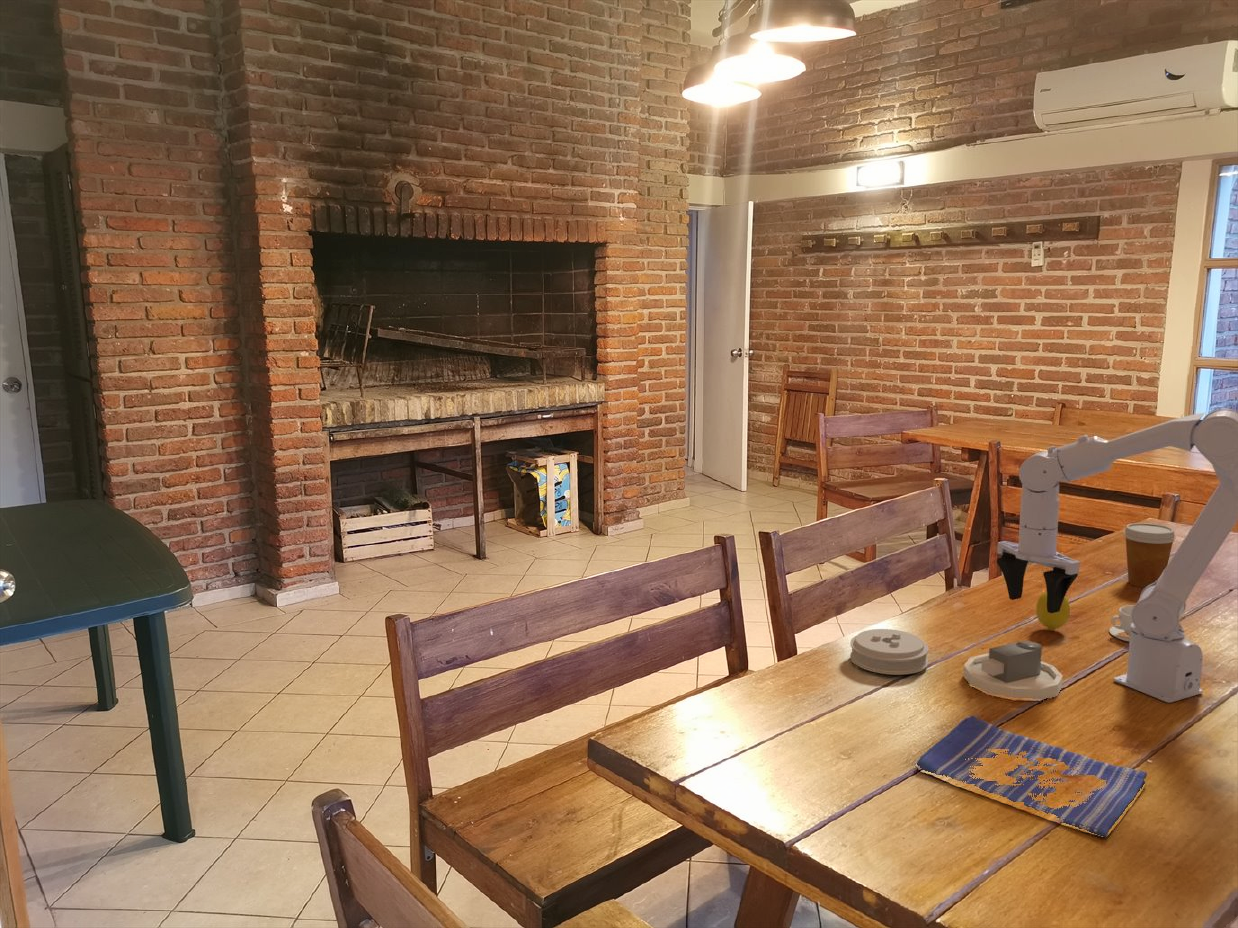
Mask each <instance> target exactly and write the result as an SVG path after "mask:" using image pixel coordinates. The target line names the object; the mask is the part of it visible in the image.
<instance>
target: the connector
mask: <svg viewBox="0 0 1238 928" xmlns="http://www.w3.org/2000/svg"><path fill="white" fill-rule="evenodd" d="M1042 650H1043V646H1042V645H1041V644H1040V643H1037V642H1034V641H1028V640H1022V641H1021V640H1020V641H1016V642H1012V643H1007V644H1003V645H998V646H993V647H990V648H989V650H988V651H989V652H988V653H989V659H987V660H983V661H982V668H981V670H982V671H984V672H986V673H988V675H990V676H992V677H995V678H997V679H999V680H1001V681H1003V682H1005V683H1010V682H1014V681H1018V680H1022V679H1026V678H1030V677H1034V676H1038V675H1040V671H1041V661H1042V652H1043V651H1042Z"/></svg>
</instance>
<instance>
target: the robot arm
mask: <svg viewBox="0 0 1238 928" xmlns="http://www.w3.org/2000/svg"><path fill="white" fill-rule="evenodd" d="M1204 415H1205V412H1203V413H1195V414H1190V415H1185V416H1181V417H1177V418H1173V419H1170V420H1166V421H1164V422H1160V423H1158V424H1155V425H1152V426H1150V427H1149V426H1148V427H1146V428H1143V429H1140V430H1136V431H1135V432H1132V433H1131V432H1130V433H1129V434H1128V433H1127V434H1126V435H1122V436H1119V437H1116V438H1113V439H1111V440H1109V439H1108V440H1107V439H1104V438H1102V437H1099V436H1097V435H1094V436H1091V437H1089V435H1088V434H1084V435H1081V436H1079V437H1077V441H1075V442H1071V443H1068V444H1065V445H1062V446H1058V447H1056V446H1055V445H1052V446H1049V447H1048V448H1046V450H1047V451H1038V452H1036V453H1034V454H1033V455H1031V456H1029V457H1028V458H1026V459H1025V460H1024V461H1023V462H1022V464H1021V465H1020V467H1019V470H1018V478H1019V481H1020V482H1021V485H1022V487H1021V497H1020V509H1019V525H1018V526H1019V528H1018V529H1019V530H1018V531H1019V532H1018V543H1017V542H1011V541H1007V540H1003V541H997V551H996V553H997V554H999V555H1001V557H997V558H996V564H997V565H998V567H999V569H1000V571H1001V573H1002V576H1003V578H1004V580H1005V583H1006V589H1007V592H1008V593H1007V594H1008V597H1009V600H1011V601H1013V600H1018V599H1019V600H1020V599H1022V596H1023V590H1024V578H1025V574H1026V570H1027V567H1028V564H1029V562H1031V563H1034V564H1038V565H1041V566H1045V567H1048V568H1050V569H1051V568H1052V570H1047V571H1043V573H1042V575H1043V578H1044V583H1045V587H1046V591H1047V612H1049V613H1055V612H1059V611H1060V608H1061V605H1062V602H1063V600H1064V597H1065V596H1066V595H1067V593H1068V591H1069V589H1070V587H1071V586H1072V584H1073V583H1074V581H1075V580H1076V579H1077V577H1079V576H1078V575H1079V574H1080V563H1081V561H1080V560H1076V559H1073V558H1071V557H1069V556H1066V555H1064V554H1062V553H1060V552H1058V551H1057V549H1058V548H1057V546H1058V545H1057V544H1058V529H1059V528H1058V527H1059V516H1060V515H1059V514H1060V513H1059V511H1060V497H1059V496H1060V495H1059V494H1060V482H1064V483H1071V482H1073V481H1077V480H1081V479H1084V478H1089V477H1091V476H1095V475H1099V474H1102V473H1105V472H1108V471H1110V470H1111V468H1112V465H1113V464H1114V462H1115V461H1116V460H1120V459H1124V458H1128V457H1133V456H1136V455H1140V454H1144V453H1149V452H1151V451H1156V450H1159V449H1160V450H1161V449H1164V448H1169V447H1173V448H1175V449H1176V448H1177V449H1179V450H1184V451H1186V452H1187V451H1188V452H1191V451H1192V449H1193V448H1194V447H1195V449H1197V451H1198V452H1199V453H1200V454H1201V455H1202V456H1203V457H1204V458H1205V459H1206V460H1207V461H1208V462H1209V463H1210V464H1211V466H1212V468H1213V470H1214V472H1215V475H1216V477H1217V479H1218V482H1219V484H1218V485H1217V486H1216V489H1215V490H1214V492H1213V493H1212V495H1211V497H1210V498H1209V499H1208V501H1207V503H1206V504H1205V505H1204V507H1203V509H1202V510H1201V512H1200V513H1199V515H1198V517H1197V518H1196V520H1195V521H1194V523H1193V525H1192V526H1191V528H1190V529H1189V531H1188V532H1187V534H1186V536H1184V538H1183V540H1182V541H1181V544H1180V545H1179V547H1178V548H1177V549H1176V551H1175V553H1174V554H1173V556H1172V558H1171V559H1170V561H1168V565H1167V567H1166V568H1165V570H1164V571H1163V572H1162V574H1161V576H1160V577H1159V578H1158V580H1157V581H1156V582H1154V583H1152V584H1150V585H1148V586H1147V587H1146V588H1143V589H1142V591H1141V593H1140V595H1139V599H1138V601H1136V603H1135V604H1134V605H1135V606H1134V607H1133V609H1132V614H1131V616H1132V621H1133V623H1132V624H1131V629H1130V642H1128V643H1129V645H1128V657H1127V670H1126V673H1125V674H1121V675H1119V676H1115V677H1113V681H1114V682H1116V683H1119V684H1120V685H1123V686H1126V687H1128V688H1130V689H1133V690H1136V691H1139V693H1140V692H1141V693H1143V694H1146V695H1148V696H1150V697H1153V698H1155V699H1158V700H1160V701H1163V702H1166V703H1169V704H1170V703H1174V702H1177V701H1180V700H1184V699H1187V698H1190V697H1194V696H1196V695H1197V696H1198V695H1200V694H1203V689H1202V688H1201V678H1202V667H1203V651H1202V648H1201V647H1200V646H1199V645H1198V644H1197V643H1195V642H1192V641H1191V640H1189V639H1188V638H1187V637H1186V635H1185V629H1184V628H1183V627H1182V625H1181V623H1180V620H1181V618H1182V615H1183V614H1184V612H1185V610H1186V606H1187V605H1186V603H1187V600H1188V598H1189V597H1190V595H1191V593H1192V592H1193V590H1194V588H1195V587H1196V585H1197V583H1198V582H1199V581H1200V578H1201V577H1202V576H1203V575H1204V573H1205V571H1206V570H1207V568H1208V566H1209V565H1210V563H1211V562H1212V561H1213V559H1214V558H1215V556H1216V555H1217V554H1218V551H1219V550H1220V548H1221V547H1222V546H1223V543H1224V542H1225V541H1226V539H1227V538H1228V536H1229V535H1230V533H1232V530H1233V529H1234V527H1235V525H1236V524H1237V522H1238V411H1237V410H1235V409H1231V408H1219V409H1215V410H1213V411H1211V412H1209V413H1208V414H1206V415H1205V416H1204ZM1202 417H1203V418H1202Z"/></svg>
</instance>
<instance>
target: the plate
mask: <svg viewBox="0 0 1238 928" xmlns="http://www.w3.org/2000/svg"><path fill="white" fill-rule="evenodd" d="M987 659H989V652H988V653H983V654H978V655H975V656H971V657H969V658H968V660H967V661H966V662H965V663H964V664H963V676H964V677H966V679H967V680H968V682H969V684H970V685H972V686H975V687H978V688H980V689H981V690H983V691H985V692H987V693H989V694H990V693H991V694H994V695H1003V696H1007V697H1013V698H1033V699H1046V698H1050V699H1052V698H1051V697H1054V698H1056V697H1055V696H1057V697H1058V696H1059V694H1060V693H1059V692H1061V691H1062V689H1063V680H1064V679H1063V678H1064V675H1063V674H1062V673H1061V672H1060V671H1059V670H1058V669H1057V668H1056V667H1055V665H1052V664H1050V663H1047V662H1045V661H1042V660H1041V671H1040V675H1038V676H1034V677H1030V678H1026V679H1022V680H1018V681H1014V682H1010V683H1005V682H1003V681H1001V680H999V679H997V678H995V677H992V676H990V675H988V673H986V672H984V671H982V670H981V668H982V661H983V660H987ZM964 677H963V678H964ZM969 684H968V685H969ZM1061 688H1062V689H1061ZM1060 690H1061V691H1060Z"/></svg>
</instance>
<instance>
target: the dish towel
mask: <svg viewBox="0 0 1238 928" xmlns="http://www.w3.org/2000/svg"><path fill="white" fill-rule="evenodd" d="M986 749H987V750H986ZM988 749H1009V751H1007V752H1008V753H1007V754H1008V755H1009V754H1010V756H1011V755H1012V754H1013V755H1014V756H1015V755H1019V753H1020V752H1022V751H1023V752H1024V751H1026V753H1028V754H1026V755H1024V756H1023V755H1022V758H1027V761H1029V763H1030V761H1031V763H1033V762H1034V764H1033V765H1032V764H1031V765H1030V764H1029V763H1028V764H1029V765H1015V766H1018V768H1016V769H1014V771H1009V772H1007V773H1005V775H1006V776H1007V775H1008V776H1010V777H1012V778H1016V781H1017V782H1016V783H1014V782H1013V783H1012V784H1021V785H1016V786H1014V785H1013V786H1012V785H1005V784H1004V785H998V786H997V785H995V784H998V782H997V781H986V780H984V779H980V778H979V779H978V778H977V779H975V778H976V777H975V778H974V779H973V778H972V777H973V776H972V777H970V776H969V775H972V774H973V775H975V774H974V773H972V772H971V770H970V771H969V769H974V766H983V765H981V764H982V763H978V762H980V761H978V760H977V758H978V759H979V758H990V757H991V758H992V757H993V756H994V757H993V758H995V756H996V755H999V754H995V753H994V752H991V750H990V751H988ZM1005 752H1006V751H1005ZM1010 752H1011V753H1010ZM1000 753H1002V752H1000ZM1003 753H1004V752H1003ZM1005 754H1006V753H1005ZM1013 755H1012V756H1013ZM1020 755H1021V754H1020ZM1040 757H1041V758H1042V757H1043V758H1052V759H1056V761H1060V762H1064V763H1065V765H1067V766H1070V767H1069V768H1070V769H1069V770H1068V769H1067V770H1064V771H1065V772H1064V771H1063V772H1061V774H1063V775H1064V774H1065V775H1072V776H1073V775H1095V776H1096V777H1097V779H1098V778H1099V779H1100V778H1101V780H1102V779H1103V780H1107V781H1106V784H1107V785H1106V786H1105V787H1104V788H1101V789H1099V790H1098V789H1097V790H1096V791H1092V793H1094V794H1092V795H1091V798H1090V796H1089V800H1088V799H1087V801H1085V802H1087V803H1085V804H1084V803H1082V804H1081V805H1080V804H1079V806H1077V807H1072V805H1071V807H1070V804H1069V806H1068V807H1067V806H1063V808H1062V807H1061V808H1059V809H1058V808H1057V809H1054V808H1050V807H1048V806H1046V805H1044V804H1042V803H1040V802H1041V801H1035V800H1034V799H1033V800H1032V797H1033V793H1034V797H1035V798H1036V797H1037V795H1039V794H1040V793H1041V795H1042V793H1043V796H1044V797H1045V796H1046V797H1047V793H1054V792H1055V791H1056V790H1057V789H1056V788H1055V786H1054V788H1053V787H1051V788H1050V785H1048V788H1045V786H1043V788H1042V789H1041V786H1040V788H1039V785H1038V784H1041V782H1039V781H1038V780H1040V779H1037V778H1038V775H1039V776H1040V775H1046V774H1047V773H1044V772H1042V771H1039V770H1038V771H1037V769H1034V770H1033V769H1032V770H1029V769H1028V768H1029V767H1027V766H1037V764H1038V761H1039V760H1036V758H1040ZM968 758H969V760H968ZM971 758H973V759H971ZM975 758H976V759H975ZM996 758H997V757H996ZM1017 758H1018V757H1017ZM965 759H966V760H965ZM976 760H977V761H976ZM916 763H917V765H918V766H920V768H922V769H923V770H925V771H928V772H931V773H935V774H936V775H942V776H943V775H945V776H946V777H947V776H948V777H951V778H952V779H955V780H957V781H962V782H963V781H964V782H965V781H966V784H975V785H974V786H976V787H979V788H980V789H982V790H984V791H987V792H989V793H994V794H997V795H1000V796H1003V797H1006V798H1007V799H1009V800H1011V801H1013V802H1024V805H1025V806H1027V807H1032V808H1034V809H1035V810H1037V809H1038V810H1037V811H1043V812H1045V813H1047V814H1048V813H1051V814H1054V815H1056V816H1058V817H1057V818H1060V819H1059V820H1061V822H1063V823H1066V824H1069V825H1072V826H1075V827H1078V828H1079V829H1084V830H1087V831H1089V832H1091V833H1094V834H1097V835H1100V836H1103V837H1106V838H1108V837H1107V835H1108V832H1109V830H1110V829H1111V828H1112V826H1113V825H1114V824H1115V822H1116V821H1117V820H1118V819H1119V817H1120V816H1121V815H1122V814H1123V812H1124V811H1125V809H1126V808H1127V807H1128V805H1129V804H1130V803H1131V802H1132V801H1133V800H1134V798H1135V797H1136V795H1137V793H1138V792H1139V791H1140V788H1141V789H1142V787H1143V785H1144V784H1145V783H1146V781H1145V779H1146V778H1147V776H1148V773H1147V771H1142V770H1136V769H1134V768H1130V767H1126V766H1120V765H1112V764H1110V763H1107V762H1103V761H1098V760H1096V759H1092V758H1090V757H1088V756H1086V755H1083V754H1078V753H1076V752H1073V751H1068V750H1067V749H1064V748H1062V747H1059V746H1055V745H1053V746H1052V745H1050V744H1048V743H1046V742H1042V741H1039V740H1034V739H1031V738H1030V737H1027V736H1025V735H1019V734H1017V733H1016V734H1015V733H1013V732H1011V731H1008V730H1004V729H1001V728H999V727H997V726H995V725H994V724H992V723H991V722H990V723H989V722H988V721H985V720H983V719H980V718H979V717H977V716H975V715H970V716H969V717H965V718H964V719H963V720H961V721H960V722H959V723H958V724H957V725H956V726H955V727H954V728H953V729H952V730H951V731H950V732H949V733H947V735H946V736H944V737H943V738H941V739H940V740H939V741H937V742H936V743H935V744H934V745H933V746H932V747H930V748H929V749H928V750H927V751H926V752H925V753H923V755H921V756H920V757H919V759H918V761H917V762H916ZM1026 764H1027V763H1026ZM1039 764H1040V763H1039ZM1045 765H1046V766H1050V767H1051V766H1057V764H1052V765H1049V764H1048V765H1047V763H1046V764H1044V765H1043V766H1045ZM970 766H971V767H970ZM972 766H973V767H972ZM1024 766H1025V767H1024ZM1038 766H1039V765H1038ZM1073 767H1074V770H1073ZM1030 768H1031V767H1030ZM1071 768H1072V769H1071ZM1075 768H1076V769H1075ZM975 769H976V768H975ZM1050 769H1051V770H1052V769H1054V768H1053V767H1051V768H1050ZM1079 769H1080V770H1079ZM1081 769H1082V770H1081ZM1035 770H1036V771H1035ZM1077 770H1078V772H1077ZM972 771H973V770H972ZM1021 771H1022V772H1021ZM1023 771H1024V773H1023ZM1031 771H1032V773H1031ZM969 772H970V773H969ZM1020 772H1021V773H1020ZM1055 772H1056V770H1055ZM1057 772H1058V771H1057ZM1026 773H1027V775H1035V776H1033V777H1032V776H1031V778H1030V777H1026V778H1025V779H1023V778H1022V776H1017V775H1024V774H1025V775H1026ZM1028 773H1029V774H1028ZM1053 773H1054V770H1053ZM1081 773H1082V774H1081ZM1083 773H1084V774H1083ZM1051 774H1052V772H1051ZM976 775H977V774H976ZM1014 775H1016V776H1014ZM1035 778H1036V779H1035ZM1030 779H1031V780H1030ZM1032 779H1033V780H1032ZM1052 779H1053V780H1052ZM1052 779H1051V780H1052V782H1053V781H1058V780H1059V781H1060V782H1061V781H1062V782H1063V781H1064V780H1065V781H1064V782H1066V779H1063V778H1062V779H1063V780H1062V779H1061V778H1060V779H1058V778H1057V779H1056V778H1055V779H1054V778H1052ZM1041 780H1042V779H1041ZM1018 781H1020V782H1018ZM1021 781H1022V782H1021ZM1043 781H1045V780H1043ZM1047 781H1048V780H1047ZM1047 781H1046V782H1047ZM1049 781H1050V779H1049ZM964 782H963V783H964ZM1067 782H1068V781H1067ZM1067 782H1066V783H1067ZM1070 782H1071V781H1070ZM1023 784H1024V785H1023ZM1044 784H1045V783H1044ZM1049 784H1050V783H1049ZM1052 784H1053V783H1052ZM1054 784H1056V783H1054ZM1057 784H1058V783H1057ZM1060 784H1061V783H1060ZM1037 785H1038V786H1037ZM1044 788H1045V789H1044ZM1049 789H1050V790H1049ZM1027 793H1032V797H1031V795H1030V796H1029V795H1028V794H1027ZM1035 793H1036V795H1035ZM1075 793H1076V792H1075ZM1077 793H1080V792H1077ZM1081 793H1082V792H1081ZM1083 793H1084V791H1083ZM1090 793H1091V792H1090ZM1041 795H1040V796H1041ZM1044 800H1045V799H1044V798H1043V801H1042V802H1046V800H1045V801H1044ZM1038 802H1039V803H1038ZM1069 802H1077V800H1076V801H1075V800H1074V801H1073V800H1072V801H1071V800H1070V801H1069ZM1047 811H1048V812H1047Z"/></svg>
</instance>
